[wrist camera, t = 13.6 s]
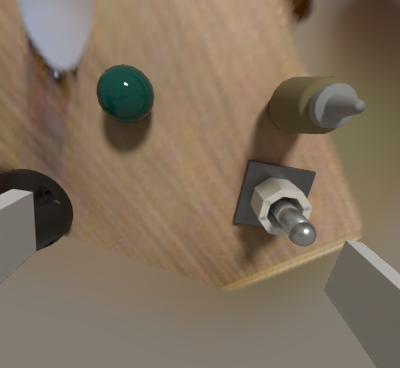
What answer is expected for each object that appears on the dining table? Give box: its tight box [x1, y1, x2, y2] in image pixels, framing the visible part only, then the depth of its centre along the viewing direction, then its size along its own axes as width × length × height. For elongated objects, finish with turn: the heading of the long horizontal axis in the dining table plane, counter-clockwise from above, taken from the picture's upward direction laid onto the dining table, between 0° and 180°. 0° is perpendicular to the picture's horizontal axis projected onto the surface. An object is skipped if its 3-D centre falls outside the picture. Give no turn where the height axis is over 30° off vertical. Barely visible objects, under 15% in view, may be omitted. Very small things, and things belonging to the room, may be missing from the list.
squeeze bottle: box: [269, 77, 365, 134], centre depth 30 cm, size 8×8×18 cm
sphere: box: [96, 64, 154, 124], centre depth 34 cm, size 8×8×8 cm
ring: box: [250, 177, 312, 236], centre depth 40 cm, size 8×8×6 cm
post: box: [234, 160, 316, 246], centre depth 36 cm, size 12×12×15 cm
